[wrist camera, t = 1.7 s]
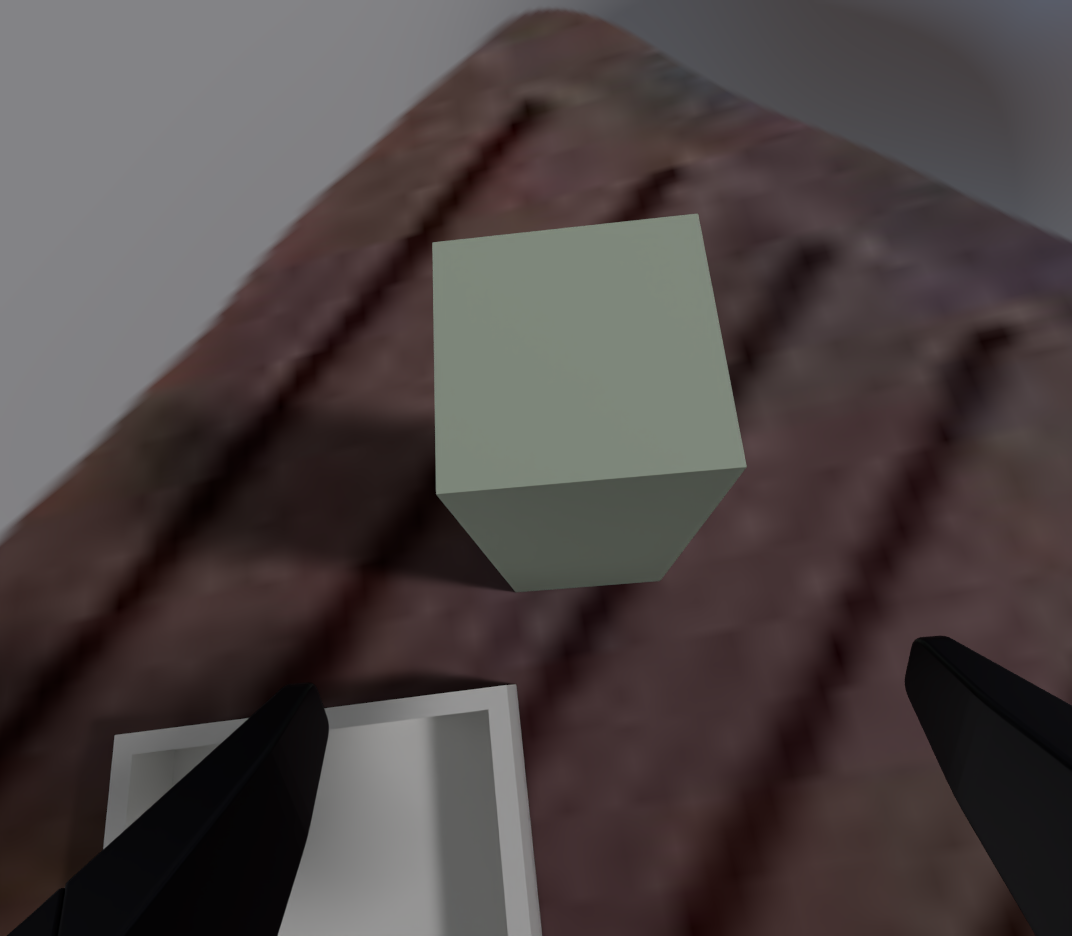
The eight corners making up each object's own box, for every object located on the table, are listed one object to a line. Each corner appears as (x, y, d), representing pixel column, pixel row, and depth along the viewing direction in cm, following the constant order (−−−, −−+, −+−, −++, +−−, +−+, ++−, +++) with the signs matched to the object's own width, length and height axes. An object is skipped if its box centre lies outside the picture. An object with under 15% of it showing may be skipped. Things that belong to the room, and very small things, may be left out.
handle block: (659, 580, 21) (746, 466, 10) (515, 592, 21) (435, 494, 10) (642, 445, 23) (697, 214, 11) (507, 457, 23) (432, 242, 12)
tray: (564, 1149, 16) (560, 1232, 14) (136, 1192, 17) (59, 1281, 14) (516, 684, 20) (506, 685, 18) (170, 728, 21) (114, 735, 18)
